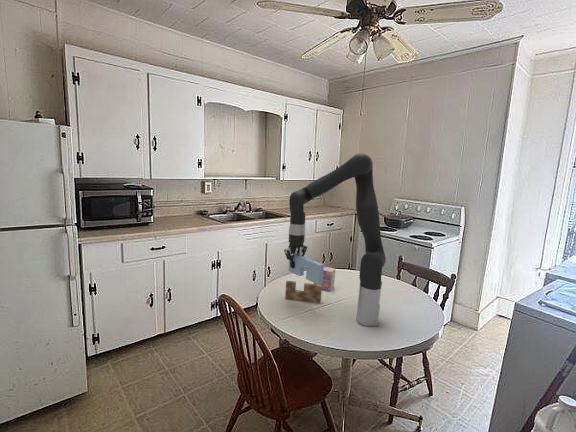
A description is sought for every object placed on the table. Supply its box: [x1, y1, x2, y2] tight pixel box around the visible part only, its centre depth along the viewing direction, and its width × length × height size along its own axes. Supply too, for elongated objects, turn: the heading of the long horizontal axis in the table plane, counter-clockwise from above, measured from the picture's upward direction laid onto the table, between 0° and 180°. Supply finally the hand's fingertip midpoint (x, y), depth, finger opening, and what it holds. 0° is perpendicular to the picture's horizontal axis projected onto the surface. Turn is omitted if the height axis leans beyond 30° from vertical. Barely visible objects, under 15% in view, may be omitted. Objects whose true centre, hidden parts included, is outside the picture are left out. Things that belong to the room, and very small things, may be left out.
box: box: [313, 266, 336, 293], centre depth 173 cm, size 10×6×12 cm, turn 62°
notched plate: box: [288, 254, 325, 285], centre depth 145 cm, size 20×2×9 cm, turn 42°
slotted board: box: [284, 280, 323, 304], centre depth 157 cm, size 18×2×9 cm, turn 79°
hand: (294, 267), depth 150 cm, fingers closed on notched plate, 2 cm apart
